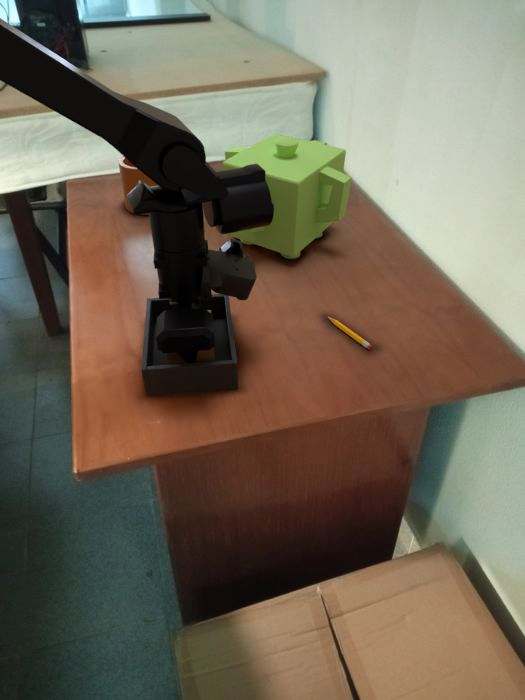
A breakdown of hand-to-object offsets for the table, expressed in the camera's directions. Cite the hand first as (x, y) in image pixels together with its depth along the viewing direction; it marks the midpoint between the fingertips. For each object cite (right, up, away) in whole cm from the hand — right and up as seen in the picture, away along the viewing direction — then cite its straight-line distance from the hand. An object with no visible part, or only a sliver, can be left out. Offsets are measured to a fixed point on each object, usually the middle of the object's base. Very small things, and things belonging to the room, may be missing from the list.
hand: (190, 345), depth 65 cm
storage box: (+13, +20, +25) cm, 35 cm away
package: (0, -1, +1) cm, 1 cm away
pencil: (+22, +2, +5) cm, 22 cm away
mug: (-12, +28, +34) cm, 45 cm away
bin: (0, -1, +1) cm, 2 cm away
